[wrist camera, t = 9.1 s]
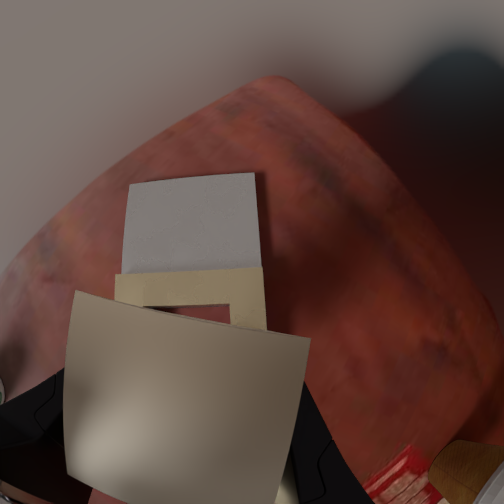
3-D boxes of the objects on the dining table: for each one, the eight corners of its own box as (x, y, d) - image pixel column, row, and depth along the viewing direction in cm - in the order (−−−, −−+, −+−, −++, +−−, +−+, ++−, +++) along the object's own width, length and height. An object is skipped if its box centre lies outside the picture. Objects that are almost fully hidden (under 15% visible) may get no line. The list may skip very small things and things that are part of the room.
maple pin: (255, 406, 14) (264, 532, 3) (177, 391, 14) (67, 474, 3) (268, 330, 15) (311, 338, 4) (188, 316, 15) (75, 290, 5)
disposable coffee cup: (482, 445, 17) (543, 464, 5) (433, 502, 15) (484, 539, 4) (460, 413, 19) (536, 431, 7) (403, 478, 17) (465, 526, 5)
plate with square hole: (274, 491, 17) (277, 504, 15) (149, 486, 17) (141, 498, 15) (254, 179, 25) (254, 165, 23) (134, 190, 25) (125, 178, 23)
